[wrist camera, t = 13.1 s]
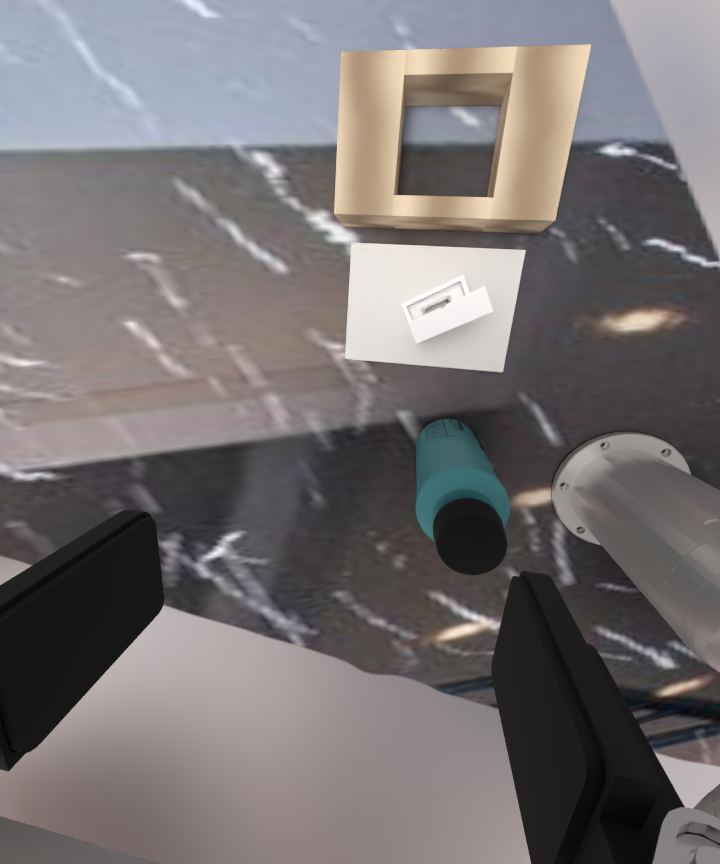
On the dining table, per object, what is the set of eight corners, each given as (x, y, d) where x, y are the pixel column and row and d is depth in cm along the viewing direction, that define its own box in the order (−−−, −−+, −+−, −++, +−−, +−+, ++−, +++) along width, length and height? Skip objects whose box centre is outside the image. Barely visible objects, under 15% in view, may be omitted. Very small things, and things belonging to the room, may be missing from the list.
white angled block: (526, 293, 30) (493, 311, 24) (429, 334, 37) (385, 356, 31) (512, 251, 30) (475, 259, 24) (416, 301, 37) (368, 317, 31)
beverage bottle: (408, 461, 40) (399, 582, 21) (423, 405, 38) (428, 483, 19) (466, 475, 39) (511, 613, 20) (484, 419, 37) (552, 513, 18)
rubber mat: (523, 251, 32) (525, 250, 32) (501, 371, 36) (502, 372, 35) (352, 244, 34) (351, 242, 34) (346, 358, 38) (345, 358, 37)
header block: (568, 82, 29) (591, 44, 25) (538, 233, 32) (555, 220, 28) (350, 85, 31) (341, 51, 27) (343, 226, 34) (334, 213, 30)
